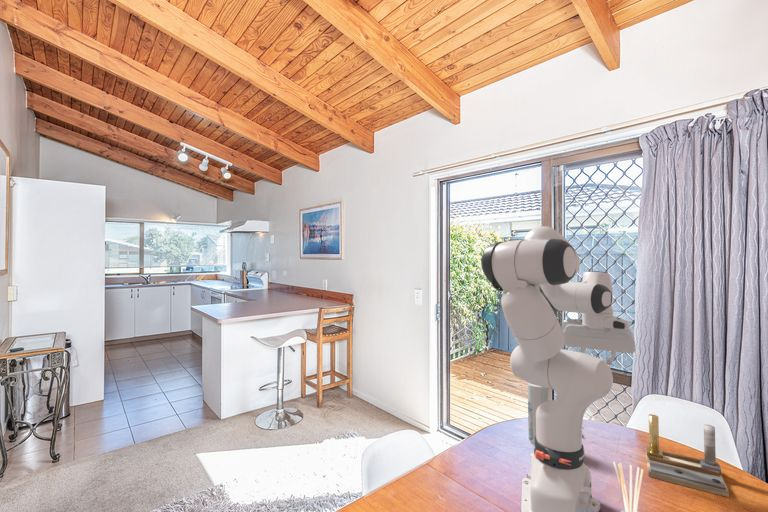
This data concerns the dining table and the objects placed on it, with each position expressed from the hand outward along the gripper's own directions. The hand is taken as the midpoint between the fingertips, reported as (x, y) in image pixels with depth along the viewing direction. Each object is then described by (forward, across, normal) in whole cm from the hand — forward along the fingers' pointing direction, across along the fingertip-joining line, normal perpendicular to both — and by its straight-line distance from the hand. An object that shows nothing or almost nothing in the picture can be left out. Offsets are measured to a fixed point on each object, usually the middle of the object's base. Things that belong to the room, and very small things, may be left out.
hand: (598, 363), depth 117 cm
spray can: (+29, -18, -3) cm, 35 cm away
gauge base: (+29, +21, 0) cm, 36 cm away
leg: (+27, +14, +3) cm, 31 cm away
